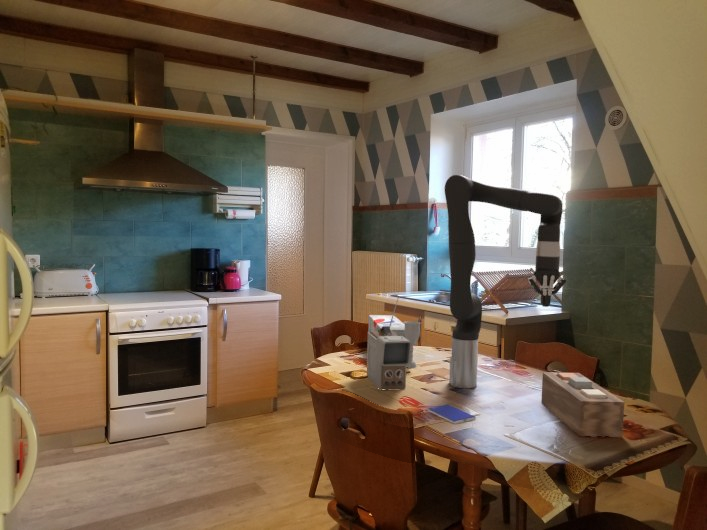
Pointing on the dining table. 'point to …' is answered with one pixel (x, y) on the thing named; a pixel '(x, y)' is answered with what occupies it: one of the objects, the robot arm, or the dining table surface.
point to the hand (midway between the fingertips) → (545, 306)
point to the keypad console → (583, 407)
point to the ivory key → (593, 393)
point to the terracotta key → (566, 375)
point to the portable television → (387, 358)
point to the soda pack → (386, 324)
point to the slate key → (580, 383)
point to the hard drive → (451, 413)
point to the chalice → (412, 337)
